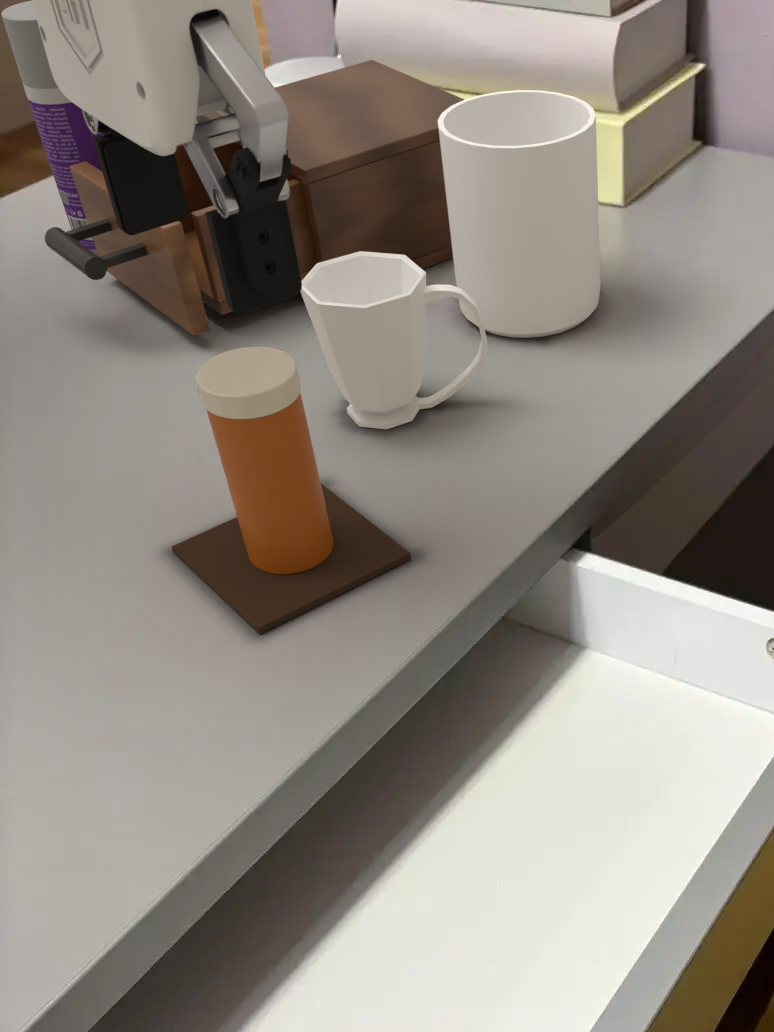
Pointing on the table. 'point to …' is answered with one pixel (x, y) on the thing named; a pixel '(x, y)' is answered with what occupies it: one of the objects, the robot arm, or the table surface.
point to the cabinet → (369, 161)
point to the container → (51, 111)
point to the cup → (379, 333)
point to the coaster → (288, 595)
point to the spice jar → (267, 457)
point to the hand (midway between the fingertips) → (208, 261)
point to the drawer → (167, 244)
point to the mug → (523, 209)
